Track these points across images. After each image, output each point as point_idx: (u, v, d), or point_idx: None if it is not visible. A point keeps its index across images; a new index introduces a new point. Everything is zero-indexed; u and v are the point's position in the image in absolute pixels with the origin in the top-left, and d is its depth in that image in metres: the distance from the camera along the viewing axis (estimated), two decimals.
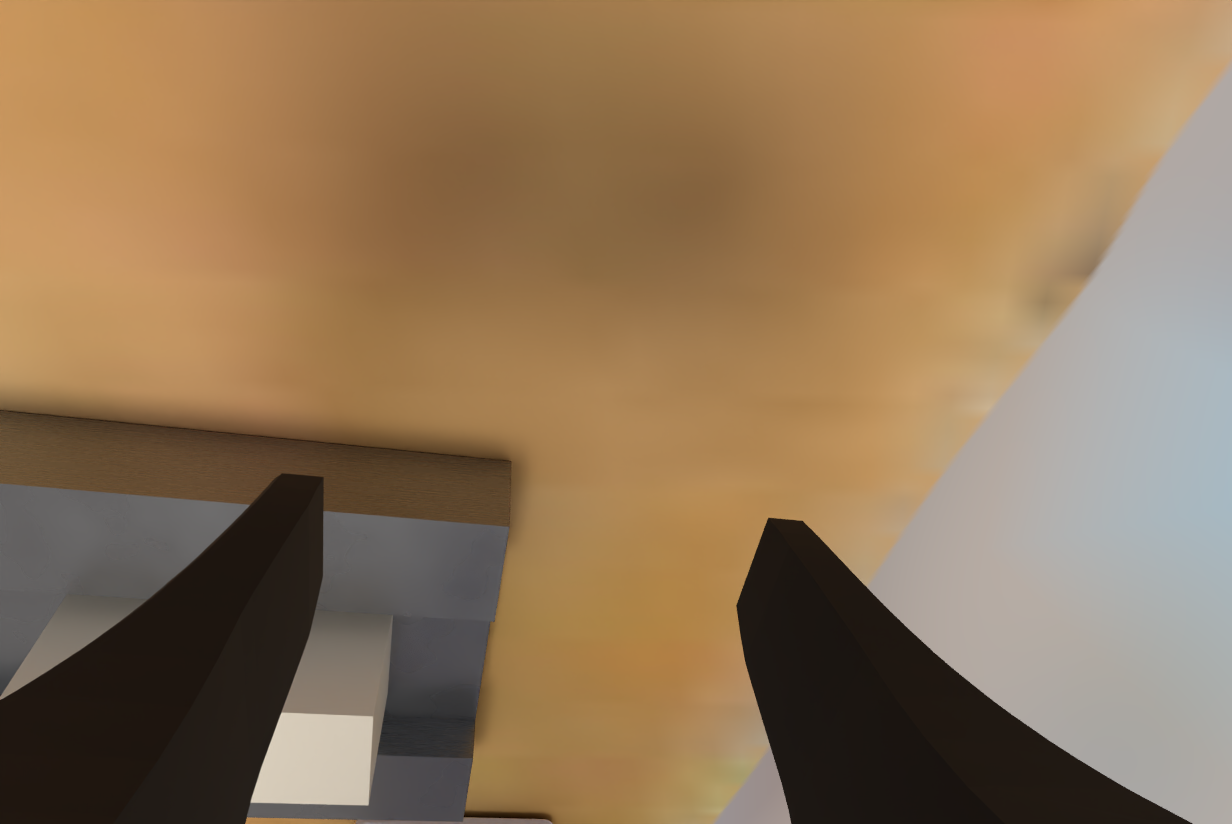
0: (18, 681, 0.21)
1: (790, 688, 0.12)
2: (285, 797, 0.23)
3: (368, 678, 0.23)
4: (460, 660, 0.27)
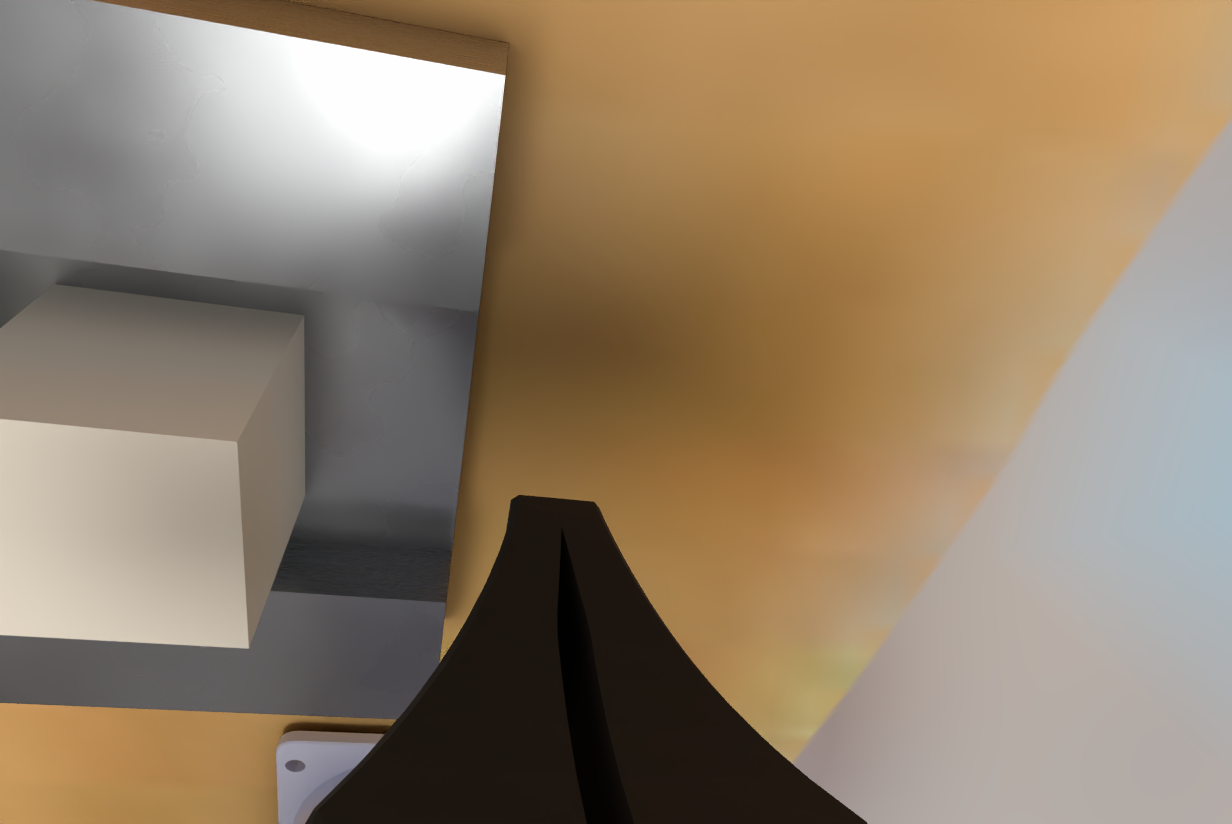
0: None
1: None
2: (89, 627, 0.13)
3: (239, 392, 0.12)
4: (424, 433, 0.16)
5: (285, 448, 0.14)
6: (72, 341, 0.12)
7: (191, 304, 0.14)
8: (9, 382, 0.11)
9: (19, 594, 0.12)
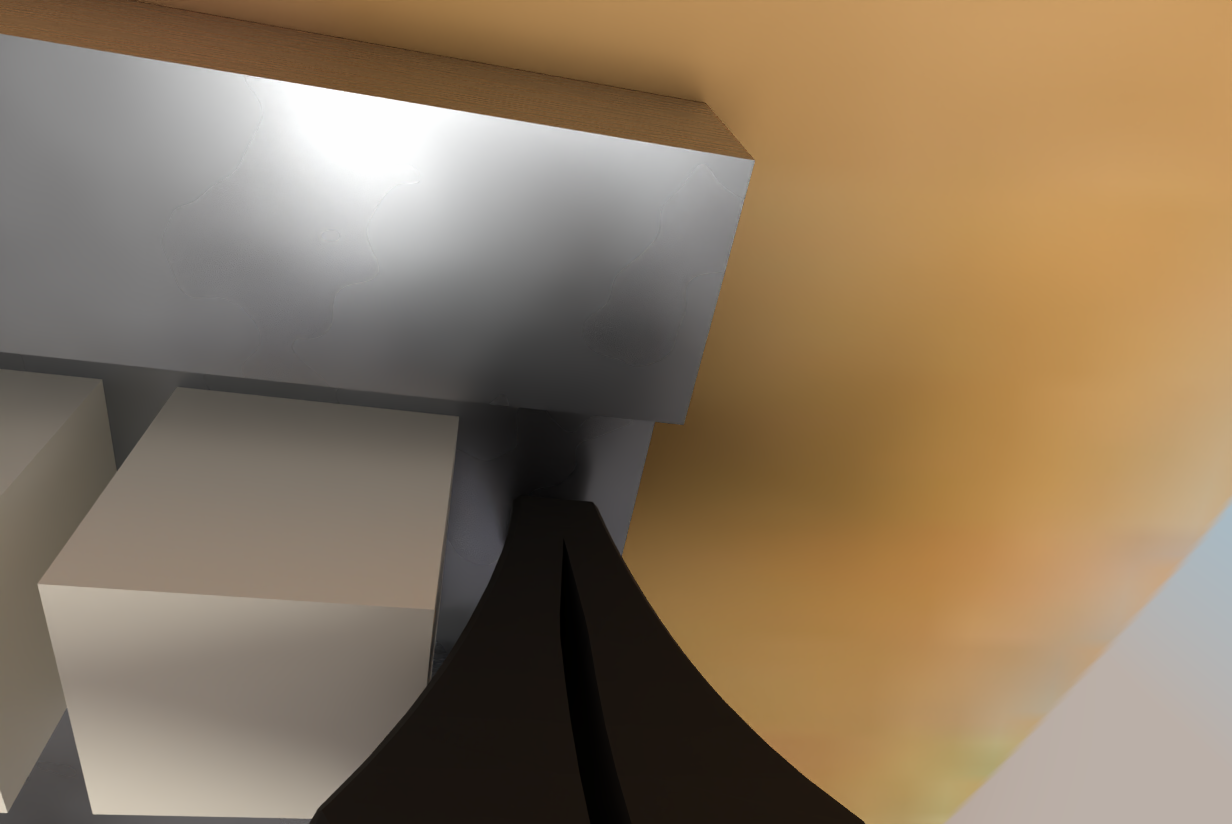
0: None
1: None
2: (233, 804, 0.11)
3: (417, 534, 0.10)
4: None
5: (441, 573, 0.12)
6: (214, 468, 0.10)
7: (333, 407, 0.12)
8: (155, 533, 0.09)
9: (156, 773, 0.10)
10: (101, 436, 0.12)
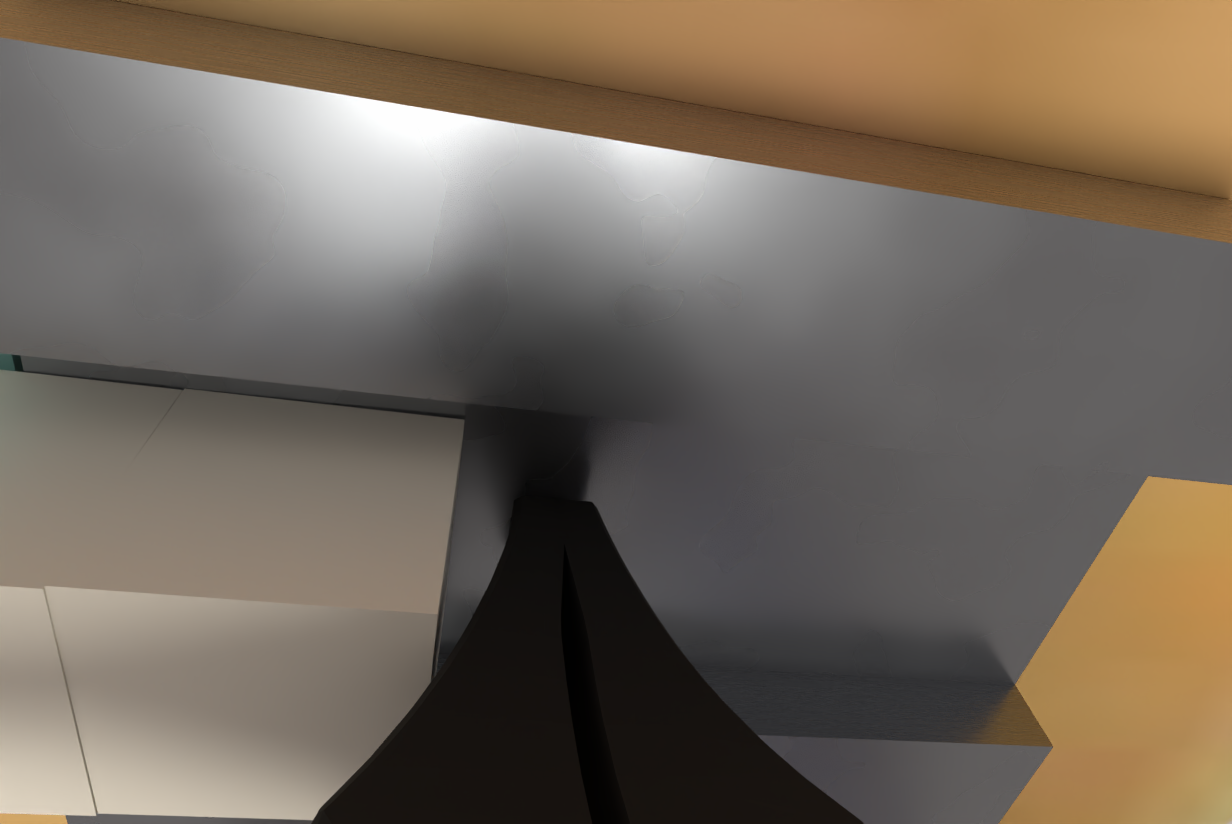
0: None
1: None
2: (237, 804, 0.11)
3: (421, 538, 0.10)
4: (1045, 577, 0.16)
5: (446, 576, 0.12)
6: (220, 471, 0.10)
7: (339, 410, 0.12)
8: (161, 536, 0.09)
9: (161, 774, 0.10)
10: None
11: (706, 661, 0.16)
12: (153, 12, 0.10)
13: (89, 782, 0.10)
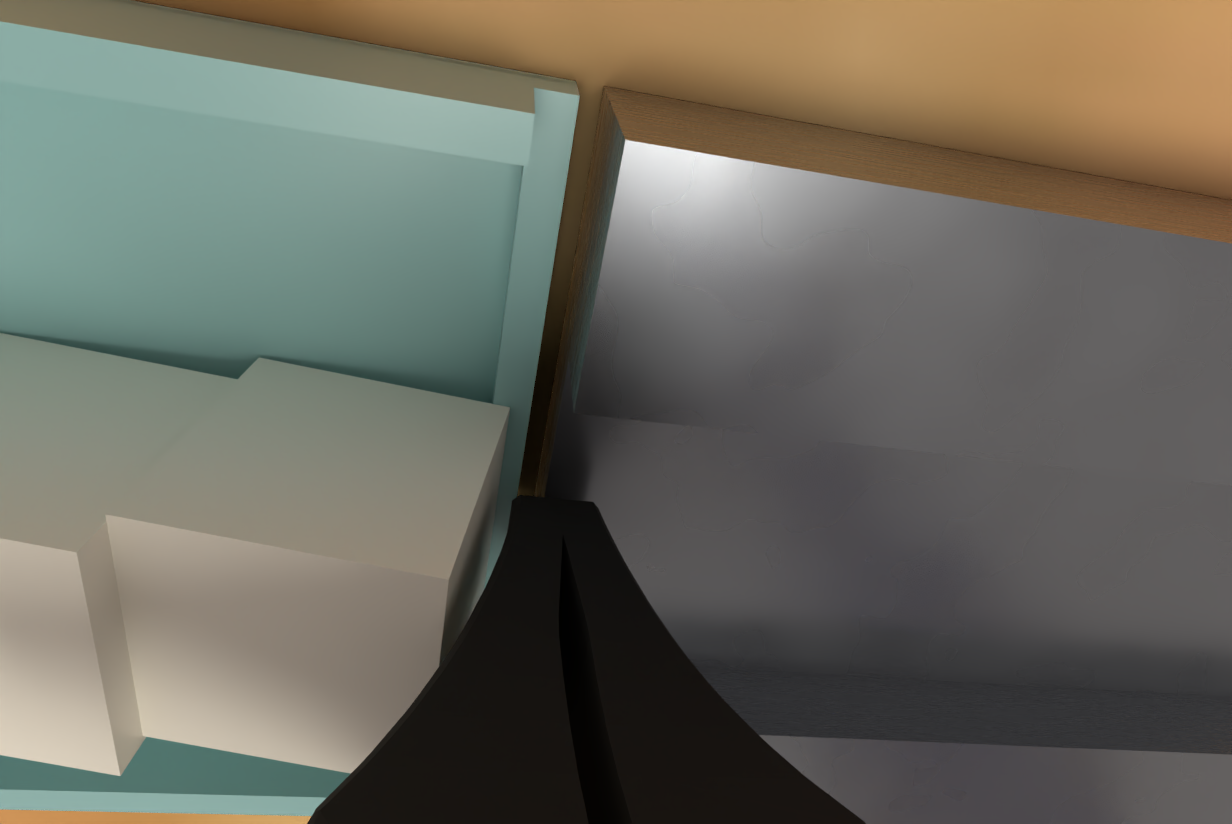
0: None
1: None
2: (263, 745, 0.11)
3: (447, 510, 0.11)
4: None
5: (478, 555, 0.13)
6: (276, 432, 0.11)
7: (394, 388, 0.13)
8: (213, 482, 0.10)
9: (198, 705, 0.11)
10: None
11: (1048, 680, 0.17)
12: (723, 111, 0.12)
13: (115, 742, 0.11)
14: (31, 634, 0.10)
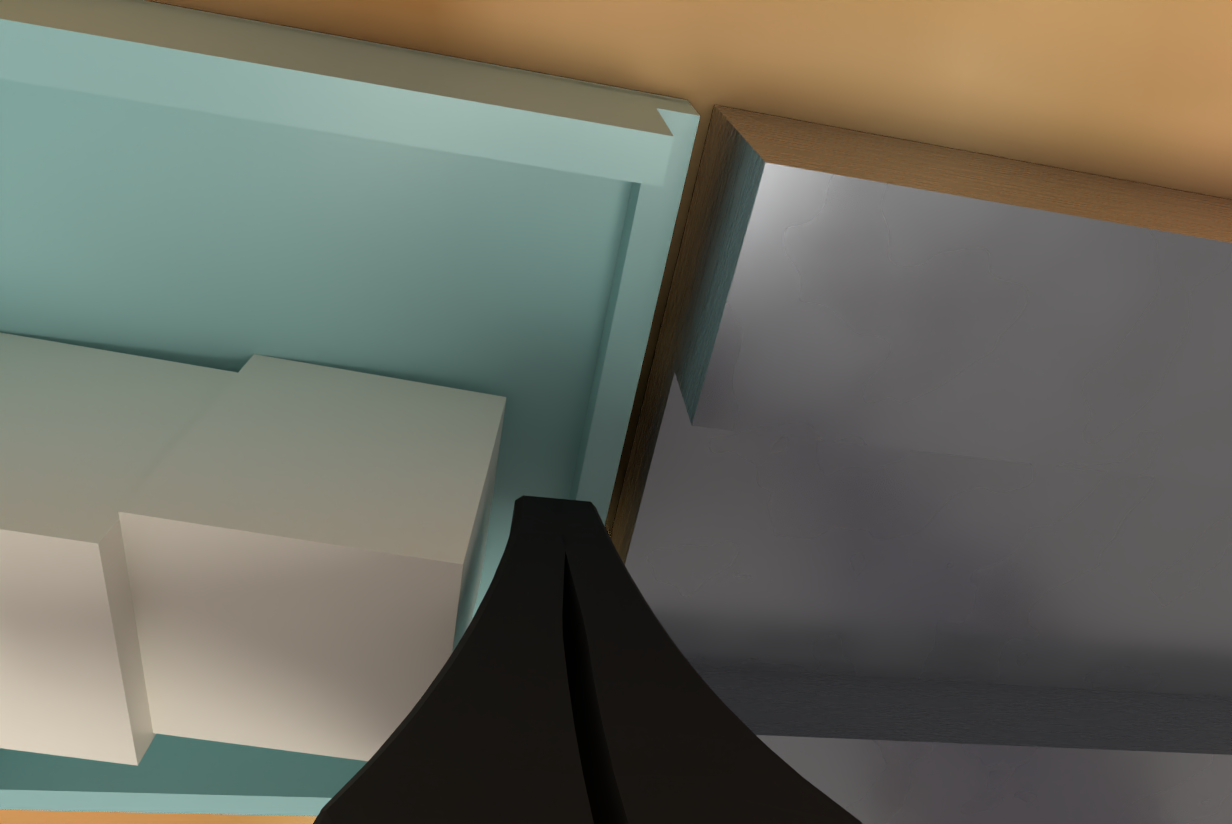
0: None
1: None
2: (275, 736, 0.12)
3: (455, 497, 0.11)
4: None
5: (480, 543, 0.13)
6: (279, 426, 0.11)
7: (391, 381, 0.13)
8: (222, 477, 0.10)
9: (210, 700, 0.11)
10: None
11: (1115, 684, 0.18)
12: (830, 130, 0.12)
13: (133, 732, 0.11)
14: (49, 627, 0.10)
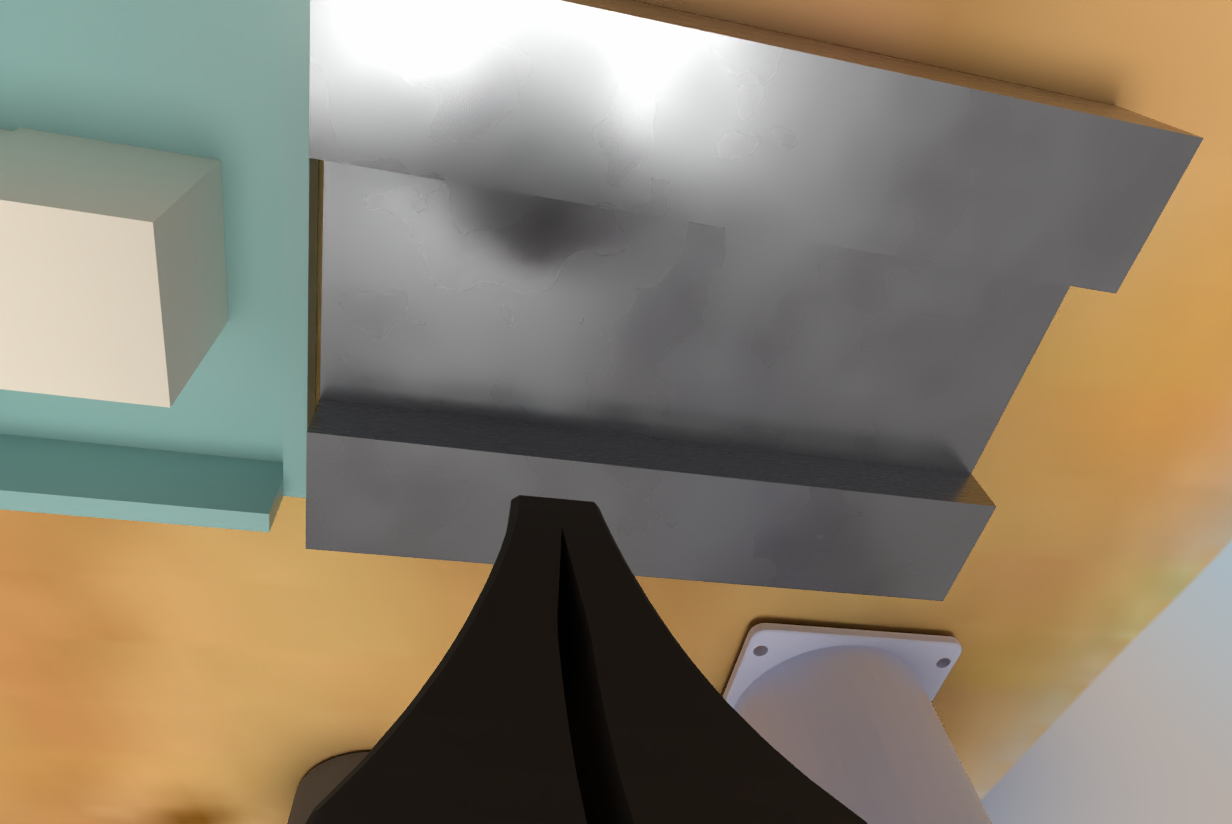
0: None
1: None
2: (44, 382, 0.16)
3: (159, 197, 0.16)
4: (991, 382, 0.22)
5: (203, 263, 0.18)
6: (31, 160, 0.16)
7: (129, 147, 0.18)
8: None
9: None
10: None
11: (750, 442, 0.22)
12: None
13: None
14: None
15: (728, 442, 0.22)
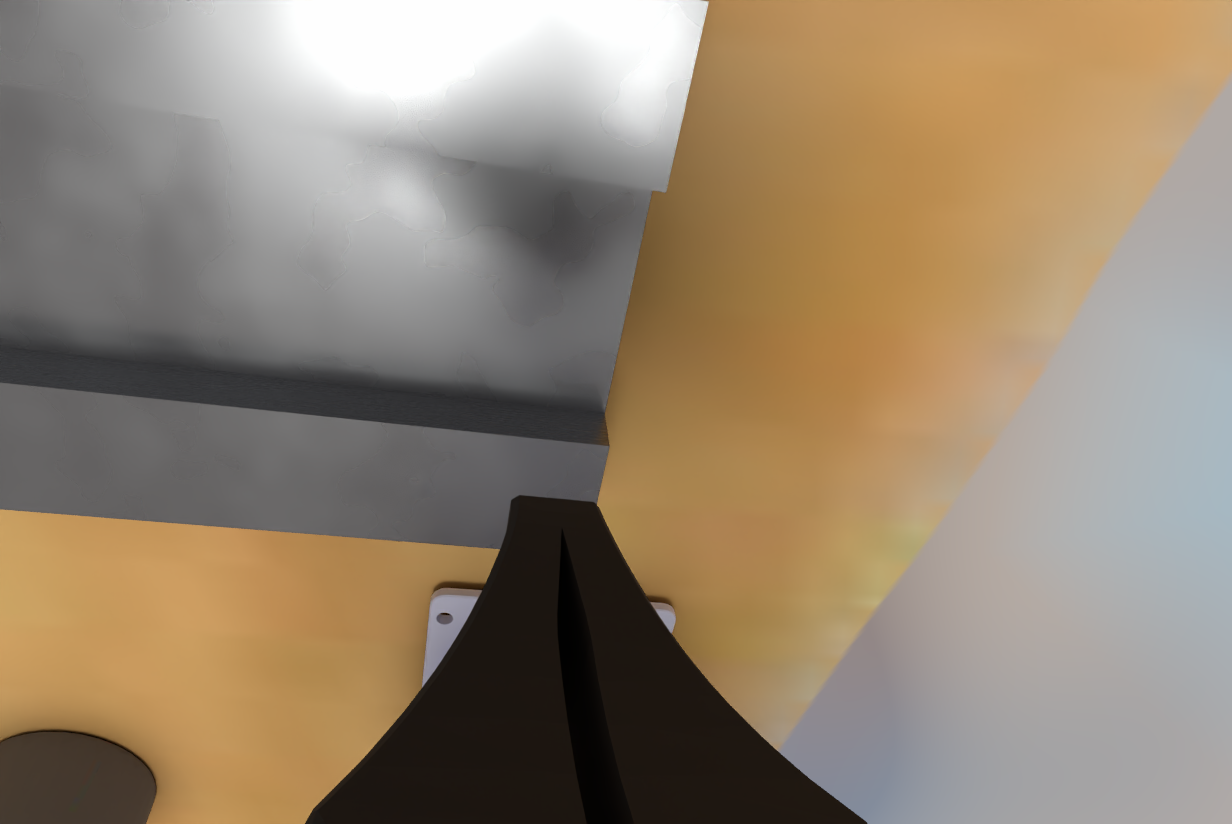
0: None
1: None
2: None
3: None
4: (595, 307, 0.20)
5: None
6: None
7: None
8: None
9: None
10: None
11: (334, 377, 0.20)
12: None
13: None
14: None
15: (308, 377, 0.20)
